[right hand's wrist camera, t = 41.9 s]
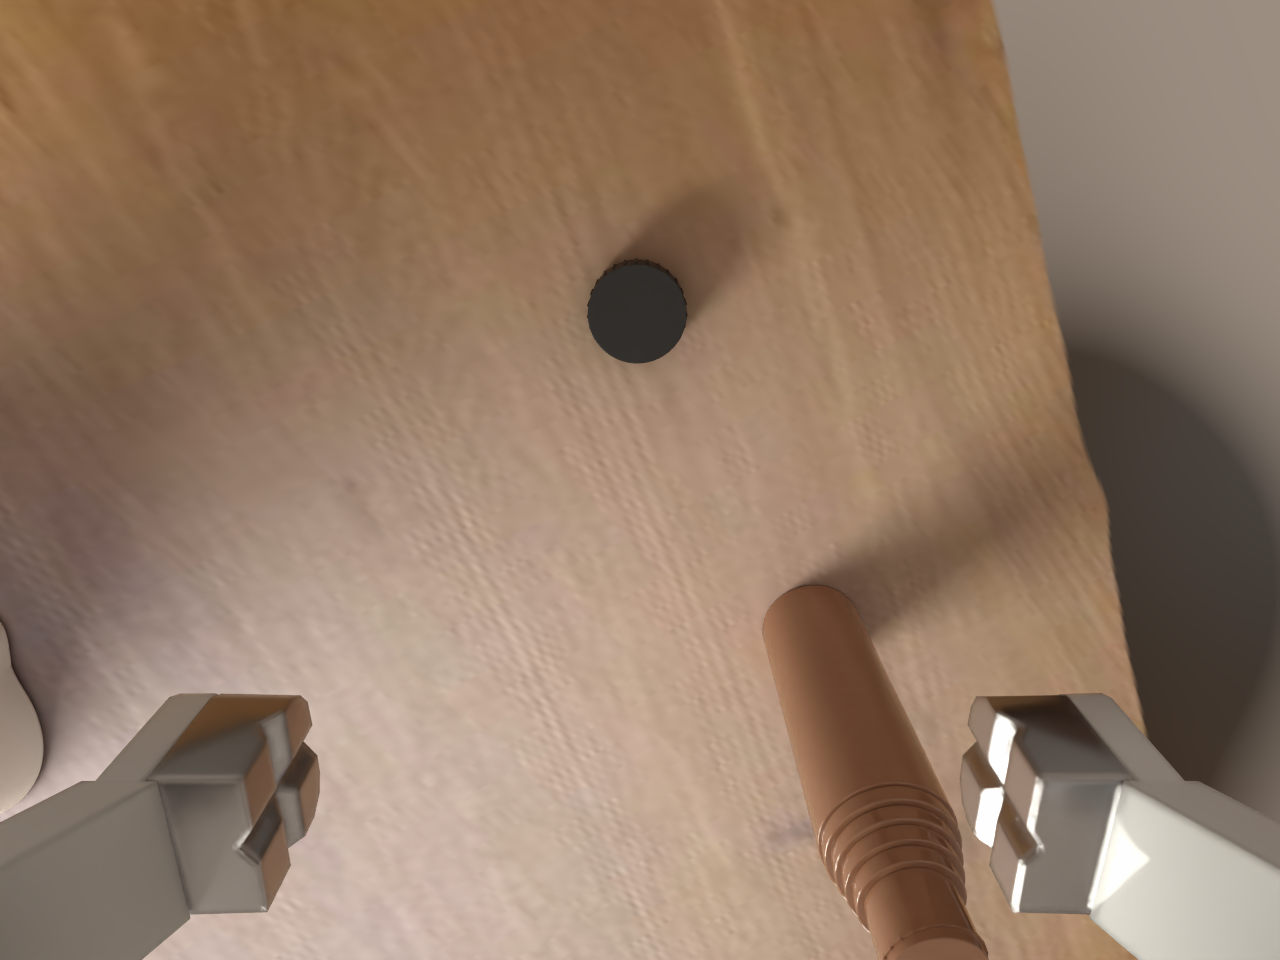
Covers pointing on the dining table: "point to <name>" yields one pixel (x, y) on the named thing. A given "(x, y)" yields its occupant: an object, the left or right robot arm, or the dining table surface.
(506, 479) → the dining table surface
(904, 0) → the dining table surface
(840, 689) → the bottle
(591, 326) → the cap
